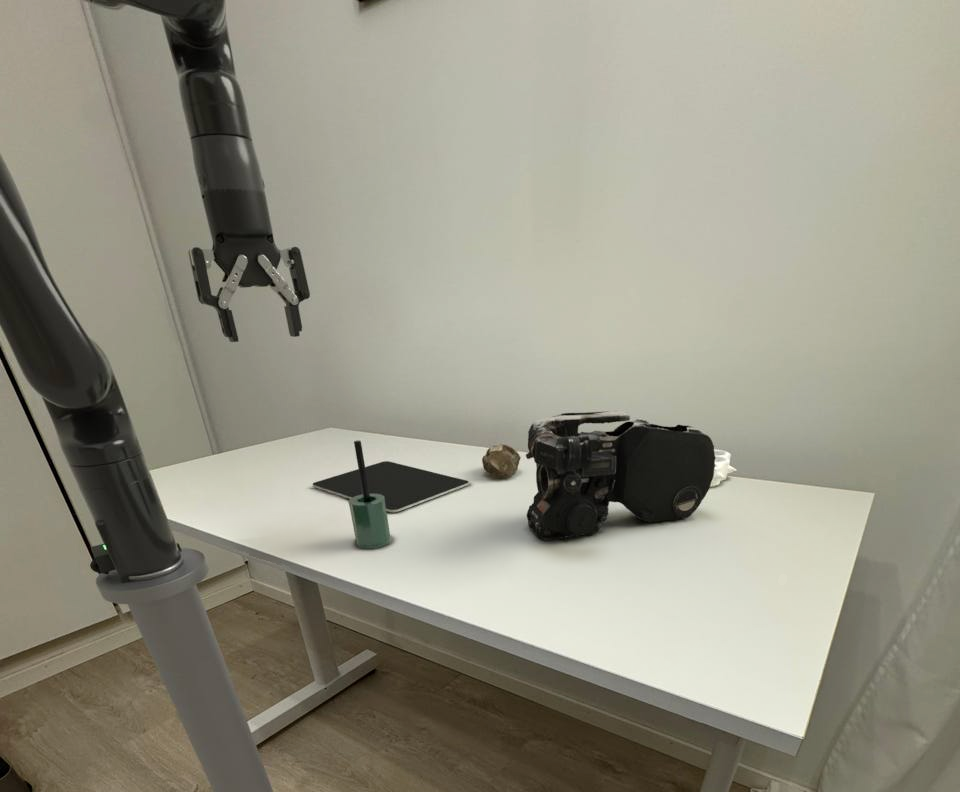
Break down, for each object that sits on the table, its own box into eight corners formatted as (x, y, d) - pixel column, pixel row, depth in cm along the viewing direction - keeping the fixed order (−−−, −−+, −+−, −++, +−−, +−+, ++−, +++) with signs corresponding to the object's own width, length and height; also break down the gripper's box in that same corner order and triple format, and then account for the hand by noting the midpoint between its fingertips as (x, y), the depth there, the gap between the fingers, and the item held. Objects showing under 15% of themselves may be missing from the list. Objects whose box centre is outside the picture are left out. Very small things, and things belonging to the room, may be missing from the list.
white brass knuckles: (673, 461, 117) (745, 470, 108) (634, 484, 105) (711, 497, 97) (676, 444, 115) (749, 453, 107) (636, 466, 104) (715, 477, 95)
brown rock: (488, 454, 120) (470, 475, 113) (501, 428, 115) (482, 449, 108) (518, 473, 120) (501, 495, 113) (531, 448, 115) (515, 470, 108)
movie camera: (533, 557, 78) (537, 426, 69) (506, 519, 93) (506, 408, 85) (735, 540, 82) (762, 414, 74) (677, 506, 98) (694, 399, 89)
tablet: (309, 483, 114) (385, 460, 126) (310, 486, 114) (386, 463, 126) (393, 510, 98) (471, 481, 110) (393, 514, 98) (471, 485, 110)
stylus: (372, 540, 87) (355, 442, 79) (369, 538, 88) (352, 441, 80) (377, 538, 88) (361, 441, 80) (375, 536, 88) (358, 439, 80)
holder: (366, 552, 85) (358, 508, 81) (350, 541, 89) (342, 499, 85) (397, 542, 88) (390, 499, 84) (380, 532, 91) (374, 491, 88)
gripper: (279, 196, 74) (304, 334, 83) (164, 192, 67) (205, 342, 76) (299, 188, 69) (324, 336, 78) (177, 182, 62) (219, 344, 71)
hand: (265, 339), depth 77 cm, fingers open, 8 cm apart
